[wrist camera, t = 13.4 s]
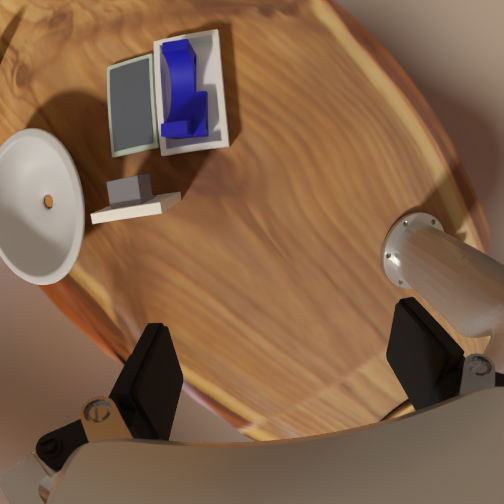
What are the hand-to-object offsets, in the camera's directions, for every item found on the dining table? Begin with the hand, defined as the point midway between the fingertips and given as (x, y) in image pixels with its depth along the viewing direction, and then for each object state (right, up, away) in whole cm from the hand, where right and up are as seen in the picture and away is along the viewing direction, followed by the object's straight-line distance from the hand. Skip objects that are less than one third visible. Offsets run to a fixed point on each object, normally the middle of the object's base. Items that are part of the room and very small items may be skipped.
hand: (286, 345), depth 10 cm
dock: (-9, +25, +21) cm, 34 cm away
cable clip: (-9, +24, +21) cm, 34 cm away
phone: (-18, +24, +21) cm, 37 cm away
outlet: (-16, +12, +26) cm, 32 cm away
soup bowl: (-35, +12, +26) cm, 45 cm away
